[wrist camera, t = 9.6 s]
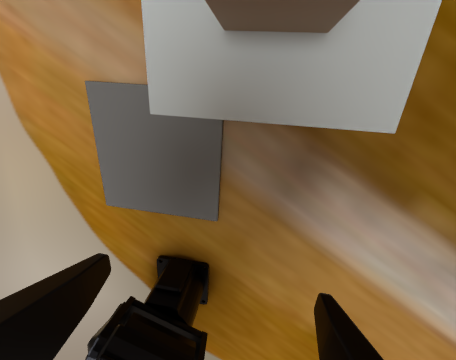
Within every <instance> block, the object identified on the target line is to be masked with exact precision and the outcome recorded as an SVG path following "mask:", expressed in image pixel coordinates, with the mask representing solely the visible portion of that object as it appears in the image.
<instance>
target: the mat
mask: <svg viewBox="0 0 456 360" xmlns="http://www.w3.org/2000/svg"><path fill="white" fill-rule="evenodd" d="M85 84H86V90H87V96H88V102H89V107H90V113H91V119H92V124H93V130H94V136H95V142H96V147H97V153H98V159H99V164H100V170H101V176H102V181H103V187H104V193H105V199H106V204H107V205H109V206H116V207H122V208H129V209H136V210H143V211H150V212H156V213H163V214H170V215H177V216H184V217H191V218H197V219H204V220H211V221H218V209H219V190H220V171H221V151H222V132H223V120H219V119H206V118H193V117H181V116H168V115H156V114H150V106H149V93H148V85H140V84H125V83H109V82H94V81H85Z"/></svg>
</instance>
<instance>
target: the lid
mask: <svg viewBox="0 0 456 360" xmlns="http://www.w3.org/2000/svg"><path fill="white" fill-rule="evenodd" d="M441 1H442V0H141V3H142V16H143V29H144V41H145V54H146V67H147V80H148V93H149V106H150V114H156V115H168V116H181V117H193V118H206V119H219V120H231V121H244V122H257V123H269V124H282V125H294V126H307V127H320V128H332V129H345V130H358V131H370V132H383V133H395V132H396V129H397V126H398V123H399V120H400V118H401V115H402V112H403V109H404V106H405V103H406V100H407V98H408V95H409V92H410V89H411V86H412V83H413V81H414V78H415V75H416V72H417V69H418V66H419V64H420V61H421V58H422V55H423V52H424V49H425V47H426V44H427V41H428V38H429V35H430V32H431V30H432V27H433V24H434V21H435V18H436V15H437V13H438V10H439V7H440V4H441Z"/></svg>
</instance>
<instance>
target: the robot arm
mask: <svg viewBox="0 0 456 360" xmlns="http://www.w3.org/2000/svg"><path fill="white" fill-rule="evenodd" d="M204 267H205V268H204ZM157 270H158V280H157V282H156V283H155V285H154V287H153V288H152V290H151V292H150V294H149V295H148V297H147V299H146V300H145V302H144V303H142V302H140V301H138V300H136V299H135V298H134V297H132V296H130V298H129V299H128V300H127V301H126V302H124V303H123V304H120V305H119V306H118V308H117V309H116V311H115V312H114V314H113V315H112V316H111V318H110V319H109V320H108V321H107V322H106V323H105V324H104V326H103V327H102V328H101V329H100V330H99V331H98V332H97V333H96V334H95V335H94V336H93V337H92V338H91V340H90V341H89V343H88V355H87V357H86V359H85V360H204V356H205V349H206V341H207V333H206V332H204V331H202V332H201V331H199V330H197V329H195V328H193V327H192V325H193V322H194V319H195V316H196V313H197V310H198V306H199V304H207V301H208V283H209V265H208V264H206V263H201V262H195V261H189V260H183V259H178V258H172V257H166V256H159V257H158V259H157ZM110 272H111V266H110V260H109V256H108V255H106V254H101V253H98V254H96V255H94V256H92V257H89V258H87V259H85V260H83V261H81V262H79V263H77V264H75V265H73V266H71V267H69V268H66V269H64V270H62V271H60V272H58V273H56V274H54V275H52V276H49V277H47V278H45V279H43V280H41V281H39V282H37V283H35V284H33V285H31V286H28V287H26V288H24V289H22V290H20V291H18V292H16V293H14V294H12V295H9V296H7V297H5V298H3V299H1V300H0V360H53V359H54V358H55V356H56V355H57V353H58V352H59V350H60V349H61V347H62V346H63V345H64V343H65V342H66V341H67V339H68V338H69V336H70V335H71V334H72V332H73V331H74V329H75V328H76V327H77V325H78V323H79V322H80V321H81V320H82V318H83V317H84V315H85V314H86V313H87V311H88V310H89V308H90V307H91V305H92V303H93V302H94V300H95V298H96V297H97V295H98V293H99V292H100V290H101V288H102V286H103V285H104V283H105V281H106V280H107V278H108V276H109V275H110ZM314 316H315V325H316V334H317V343H318V352H319V359H320V360H383V358H382V357H381V356H380V355H379V353H378V352H377V351H376V350H375V348H374V347H373V346H372V345H371V343H370V342H369V341H368V340H367V339H366V337H365V336H364V335H363V334H362V332H361V331H360V330H359V329H358V327H357V326H356V325H355V324H354V323H353V321H352V320H351V319H350V318H349V316H348V315H347V314H346V313H345V311H344V310H343V309H342V308H341V307H340V305H339V304H338V303H337V302H336V300H335V299H334V298H333V297H332V296H331V295H330V294H325V293H319V294H318V297H317V300H316V304H315V307H314Z"/></svg>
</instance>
